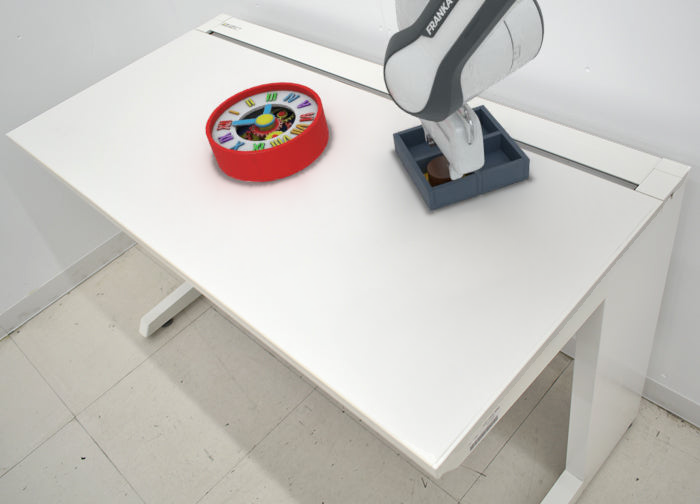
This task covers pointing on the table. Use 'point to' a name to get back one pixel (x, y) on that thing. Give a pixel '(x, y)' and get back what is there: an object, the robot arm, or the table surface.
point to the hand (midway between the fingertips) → (443, 159)
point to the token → (438, 171)
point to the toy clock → (268, 131)
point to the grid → (498, 171)
